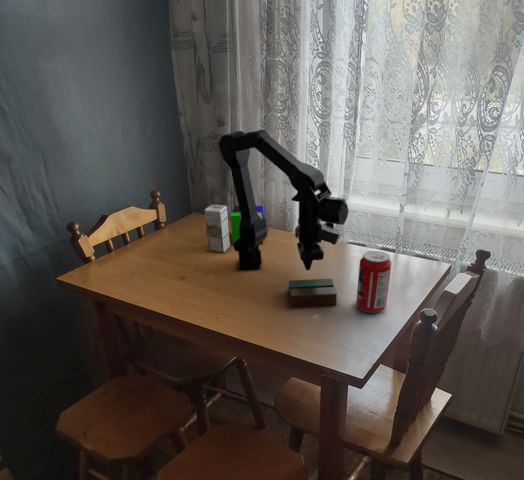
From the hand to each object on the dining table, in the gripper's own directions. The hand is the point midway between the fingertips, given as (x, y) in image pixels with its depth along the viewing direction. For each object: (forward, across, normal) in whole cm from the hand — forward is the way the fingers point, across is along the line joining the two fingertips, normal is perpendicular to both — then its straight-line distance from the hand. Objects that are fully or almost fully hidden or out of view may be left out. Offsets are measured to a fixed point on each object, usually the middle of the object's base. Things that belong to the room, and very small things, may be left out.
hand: (307, 269), depth 143 cm
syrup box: (+4, +26, +27) cm, 38 cm away
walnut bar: (+4, -13, 0) cm, 13 cm away
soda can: (+4, -17, -15) cm, 23 cm away
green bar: (+4, -8, 0) cm, 9 cm away
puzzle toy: (+4, +34, +17) cm, 38 cm away
